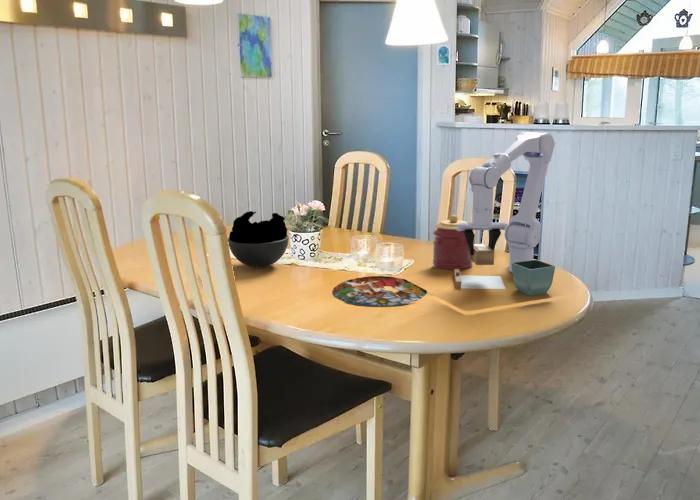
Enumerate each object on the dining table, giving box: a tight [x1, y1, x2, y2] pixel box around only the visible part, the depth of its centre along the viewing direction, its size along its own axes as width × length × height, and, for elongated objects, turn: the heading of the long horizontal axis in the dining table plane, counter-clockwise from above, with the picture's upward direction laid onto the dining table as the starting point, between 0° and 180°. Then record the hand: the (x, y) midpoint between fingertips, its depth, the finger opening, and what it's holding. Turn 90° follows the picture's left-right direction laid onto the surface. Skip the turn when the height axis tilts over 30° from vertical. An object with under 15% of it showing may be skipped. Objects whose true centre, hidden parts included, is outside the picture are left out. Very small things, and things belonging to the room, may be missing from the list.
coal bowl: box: [227, 210, 290, 268], centre depth 217 cm, size 20×20×19 cm
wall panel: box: [453, 269, 506, 290], centre depth 194 cm, size 14×14×4 cm
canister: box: [432, 214, 474, 271], centre depth 212 cm, size 13×13×18 cm
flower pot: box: [511, 259, 556, 296], centre depth 183 cm, size 9×9×9 cm
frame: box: [469, 243, 495, 266], centre depth 192 cm, size 10×5×4 cm, turn 3°
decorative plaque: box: [331, 275, 428, 307], centre depth 190 cm, size 30×3×30 cm
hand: (480, 254), depth 192 cm, fingers closed on frame, 5 cm apart
